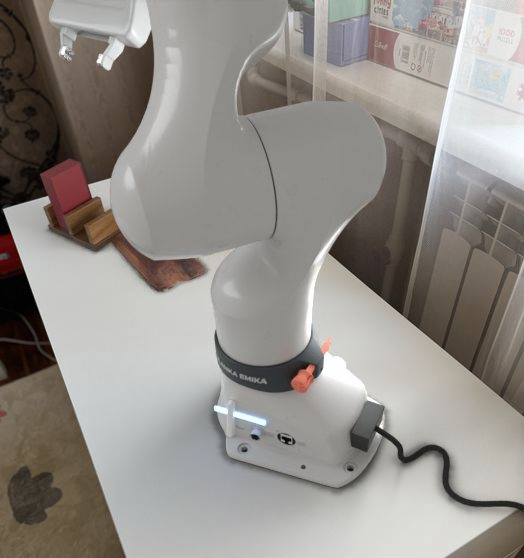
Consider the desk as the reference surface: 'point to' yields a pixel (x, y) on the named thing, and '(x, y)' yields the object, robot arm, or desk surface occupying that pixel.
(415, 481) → the desk surface
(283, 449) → the robot arm
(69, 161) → the book
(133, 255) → the brown flat bent piece
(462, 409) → the desk surface
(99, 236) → the book rack
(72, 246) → the desk surface
